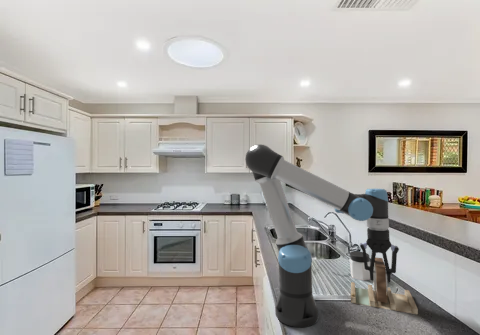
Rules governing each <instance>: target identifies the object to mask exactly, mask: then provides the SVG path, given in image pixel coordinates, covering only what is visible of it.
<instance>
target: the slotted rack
mask: <svg viewBox="0 0 480 335" xmlns="http://www.w3.org/2000/svg"><path fill="white" fill-rule="evenodd" d="M386 293H387V303H385V302H379V301H377V296H376V290H374V287H373V285H372V284H367V288H362V287H361V288H360V287H356V283H355V282H352V281H351V282H350V303H351V304H357V305H361V306H366V307H367V306H368V307H373V308H379V309H385V310H389V311H397V312H402V313H408V314H413V315H418V312H419V311H418V307H417V304H416V302H415V300H414V297H413V296H412V294H411V292H410V290H408V289H404V294H401V293H394V292H392V290H391V287H388V292H386Z"/></svg>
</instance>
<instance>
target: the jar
mask: <svg viewBox="0 0 480 335" xmlns="http://www.w3.org/2000/svg"><path fill="white" fill-rule="evenodd" d="M366 256H367V263H368V266H369V267H370V261H371V258H370V254H369V253H367V252H366ZM349 264H350V266H349V267H350V276H351V277H352V279H356V280H359V281H370V280H371V279H370V271H369V270H366V269H365V266H364V259H363V251H351V252H350V257H349Z"/></svg>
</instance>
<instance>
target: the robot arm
mask: <svg viewBox="0 0 480 335" xmlns="http://www.w3.org/2000/svg"><path fill="white" fill-rule="evenodd" d="M245 164H246V166H247V168H248V169H249V170H250V171H251V173H252V176H253V178H254V181H255V182H256V183H258V184H259V185H260V188H261V191H262V194H263V196H264V200H265V203H266V207H267V210H268V213H269V215H270V218H271V221H272V224H273V228H274V230H275V233H276V236H277V238H276V241H275V245H276V248H277V251H278V255H277V260H278V276H279V278H278V282H279V285H278V286H279V293H278V295H277V300H276V303H275V307H274V308H275V310H274V311H275V312H274V313H275V316H276V319H277V320H278V321H280V322H281V323H282V324H285V325H287V326H290V327H295V328H306V327H311V326H313V325H315V324H317V322H318V320H319V310H318V306H317V303H316V301H315V297H314V294H313V275H312V274H313V272H312V271H313V270H312V264H313V259H312V253H311V251H310V250H309V249H308V246H307V244H306V242H305V239H304V237H303V234H302V233H301V232H298V230H297V227H296V224H295V220H294V219H293V218H294V217H293V215H292V212H291V209H290V206H289V203H288V200H287V197H286V194H285V192H284V188H283V186H282V185H283V184H282V183H284V184H286V185H289V186H290V187H293V188H294V189H295V190H298V191H300V192H302V193H304V194H306V195H308V196H310V197H311V198H313V199H316V200H318V201H320V202H322V203H323V204H326V205H327V206H330V207H331V208H333V209H334V212H336V213H337V214H345V215H347V216H349V217H350V218H352V219H353V220H355V221H359V222H364V221H366V227H367V229H366V231H367V234H366V235H367V240H365V241H366V242H360V243H359V247H360V250H361V252H363V259H364V266H365V269H366V270H369V271H370V279H369V280H371V281H373V282H372V283H373V285H372V286H373V290H375V291H376V273H375V270H374V263H375V258H376V256H377V254H378V253H379V254H382V259H383V262H384V264H385V270H386V292H388V288H389V287H388V283H391V281H392V280H391V279H392V278H391V275H392V274H396V273H397V255H398V252H399V250H400V248H399V247H398V245H394V244H392V242H391V241H390V240H391V239H390V229H389V228H390V222H389V218H390V217H389V198H388V191H387V190H386V189H385V188H367V189H366V190H365V193H361V194H359V193H355V194H354V193H352V192H350V191H348V190H347V189H345V188H342V187H341V186H338V185H336V184H334V183H332V182H330V181H328V180H326V179H325V178H322V177H320V176H318V175H316V174H314V173H311V172H310V171H308V170H305V169H304V168H301V167H299V166H297V165H295V164H293V163H292V162H289V161H288V160H285V158H284V155H282V154H279V153H277V152H276V151H275V150H273V149H272V148H270V147H269V146H268V145H266V144H255V145H253V146H251V147H250V148H249V149H247V152H246V154H245ZM281 182H282V183H281ZM367 248H370V250H371V255H370V267H369V266H368V263H367V256H366V253H367V250H366V249H367ZM388 250H391V267H390V263H389V261H388V256H387V253H388Z"/></svg>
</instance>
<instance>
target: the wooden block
mask: <svg viewBox="0 0 480 335" xmlns="http://www.w3.org/2000/svg"><path fill="white" fill-rule="evenodd" d="M374 270H375V273H376V290H375V291H376V296H377V301H379V302H385V303H387V293H386V268H385V264H384V259H383V257H375V263H374Z"/></svg>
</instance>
